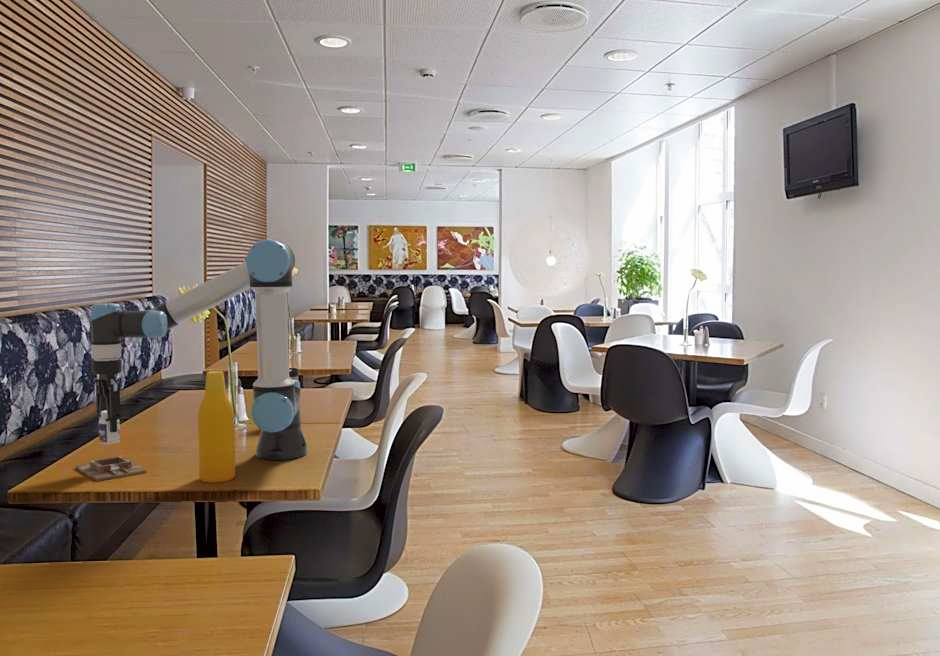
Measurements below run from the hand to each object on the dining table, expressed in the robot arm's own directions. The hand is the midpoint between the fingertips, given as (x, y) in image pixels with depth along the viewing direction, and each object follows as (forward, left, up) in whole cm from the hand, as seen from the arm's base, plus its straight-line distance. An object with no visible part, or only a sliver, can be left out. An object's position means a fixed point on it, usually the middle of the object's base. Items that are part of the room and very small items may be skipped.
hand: (109, 441), depth 212 cm
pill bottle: (0, 0, -1) cm, 1 cm away
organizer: (0, 0, -8) cm, 8 cm away
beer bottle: (-28, -19, -8) cm, 35 cm away
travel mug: (+24, -70, -8) cm, 74 cm away
